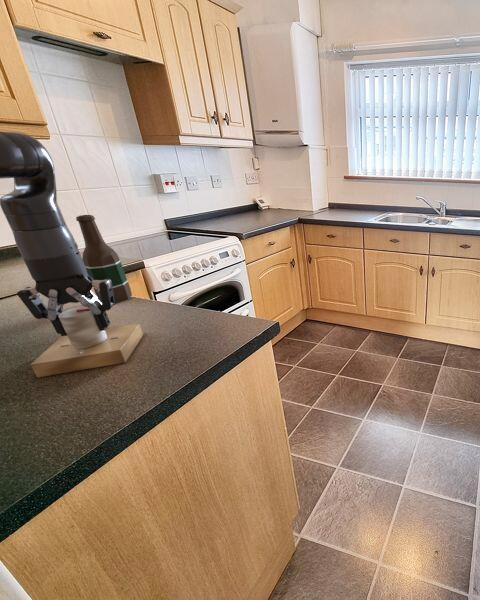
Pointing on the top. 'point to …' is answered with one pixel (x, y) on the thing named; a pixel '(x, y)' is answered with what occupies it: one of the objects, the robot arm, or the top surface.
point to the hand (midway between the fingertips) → (86, 331)
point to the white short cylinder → (81, 327)
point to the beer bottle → (102, 260)
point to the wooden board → (88, 352)
